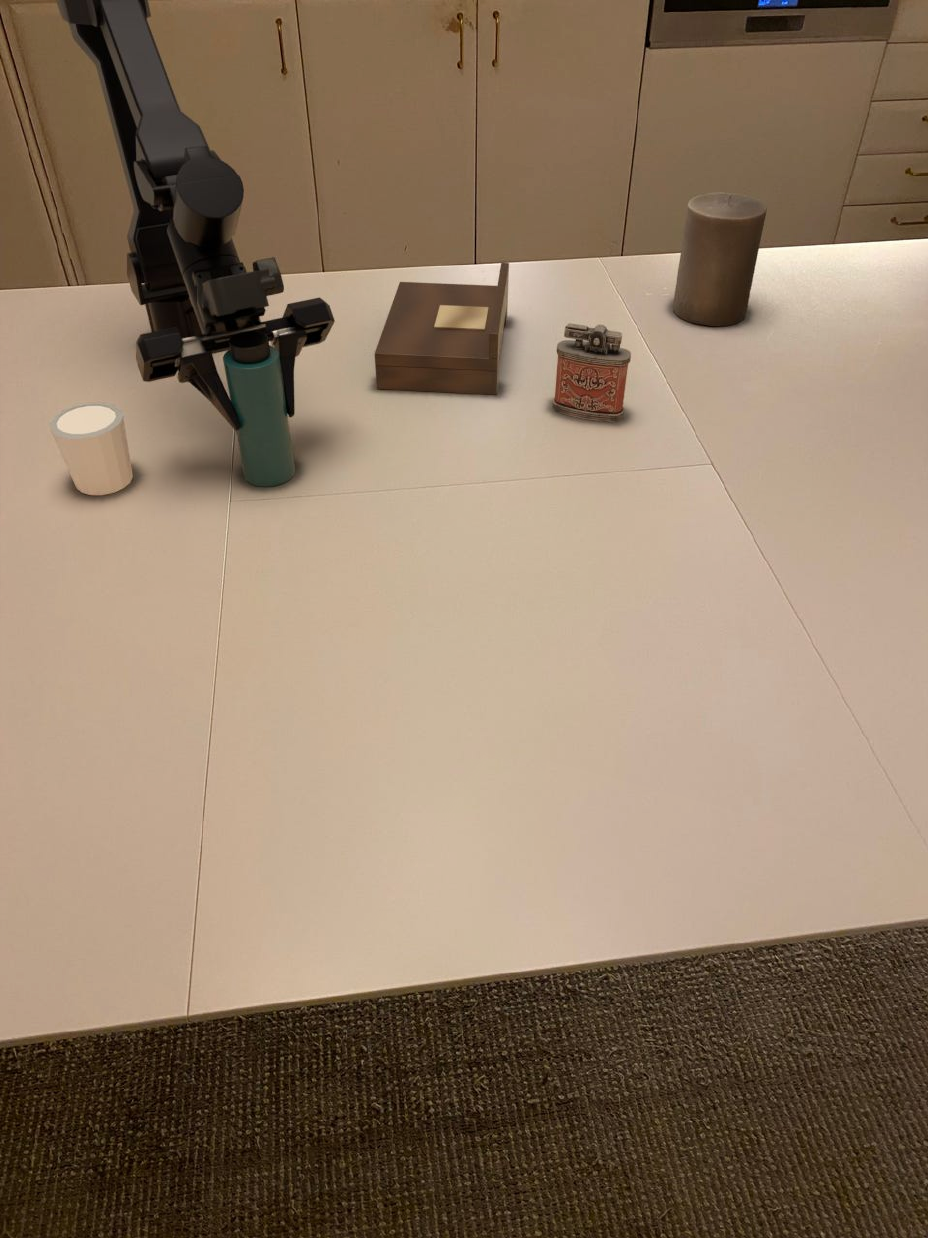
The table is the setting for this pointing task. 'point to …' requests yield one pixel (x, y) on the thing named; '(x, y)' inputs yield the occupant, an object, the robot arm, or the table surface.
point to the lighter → (591, 373)
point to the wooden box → (443, 337)
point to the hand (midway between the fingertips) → (265, 422)
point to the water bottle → (259, 409)
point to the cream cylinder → (94, 447)
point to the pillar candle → (718, 258)
